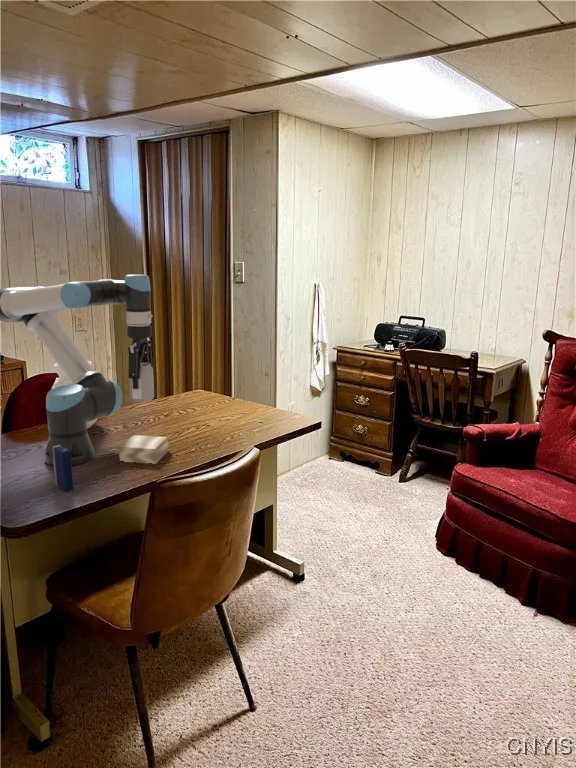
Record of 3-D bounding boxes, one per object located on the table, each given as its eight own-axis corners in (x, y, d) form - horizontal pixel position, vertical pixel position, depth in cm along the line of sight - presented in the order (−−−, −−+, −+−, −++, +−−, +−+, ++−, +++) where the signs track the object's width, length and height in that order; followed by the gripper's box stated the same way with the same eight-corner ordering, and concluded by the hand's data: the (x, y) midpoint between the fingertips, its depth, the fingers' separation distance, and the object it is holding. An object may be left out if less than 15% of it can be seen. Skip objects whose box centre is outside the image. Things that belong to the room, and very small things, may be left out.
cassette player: (73, 490, 161) (70, 450, 158) (65, 492, 159) (62, 452, 157) (62, 482, 166) (59, 443, 163) (54, 484, 165) (51, 445, 162)
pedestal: (119, 461, 183) (119, 446, 182) (134, 449, 195) (133, 435, 193) (155, 463, 181) (155, 449, 180) (168, 451, 193) (167, 437, 192)
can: (157, 397, 187) (156, 361, 184) (149, 403, 180) (148, 366, 177) (135, 396, 188) (133, 361, 185) (126, 402, 181) (125, 365, 178)
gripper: (138, 329, 168) (141, 404, 173) (162, 321, 188) (164, 388, 193) (114, 328, 169) (117, 402, 174) (140, 320, 188) (142, 387, 194)
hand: (142, 395), depth 183 cm, fingers closed on can, 7 cm apart
